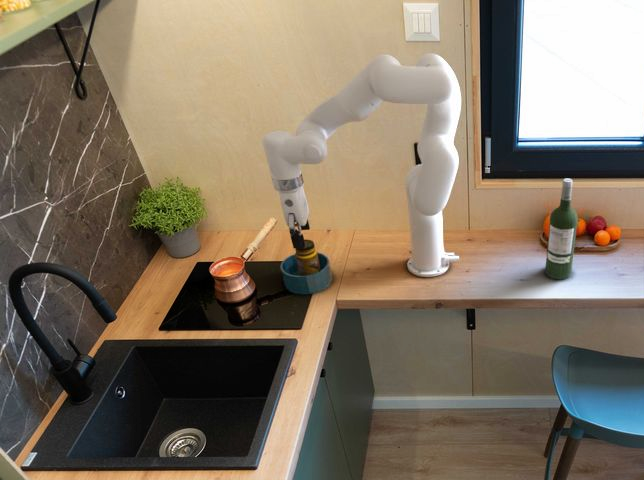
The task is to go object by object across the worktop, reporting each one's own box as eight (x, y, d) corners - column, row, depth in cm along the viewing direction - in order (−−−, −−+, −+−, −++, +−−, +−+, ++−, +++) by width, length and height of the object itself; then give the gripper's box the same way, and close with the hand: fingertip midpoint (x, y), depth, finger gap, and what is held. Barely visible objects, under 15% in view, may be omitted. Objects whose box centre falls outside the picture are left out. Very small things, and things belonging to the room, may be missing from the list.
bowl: (334, 267, 180) (331, 250, 176) (330, 293, 170) (326, 275, 166) (288, 269, 179) (284, 252, 175) (281, 295, 168) (277, 277, 165)
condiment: (327, 281, 173) (320, 245, 166) (298, 290, 169) (290, 254, 162) (317, 269, 178) (311, 234, 170) (289, 278, 174) (281, 242, 167)
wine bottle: (545, 279, 178) (553, 186, 159) (544, 265, 185) (552, 173, 166) (571, 280, 178) (583, 187, 159) (570, 266, 184) (581, 174, 166)
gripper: (298, 195, 148) (312, 254, 159) (306, 166, 161) (319, 222, 172) (267, 197, 148) (283, 256, 158) (278, 167, 161) (292, 223, 172)
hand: (302, 238), depth 165 cm, fingers open, 9 cm apart
